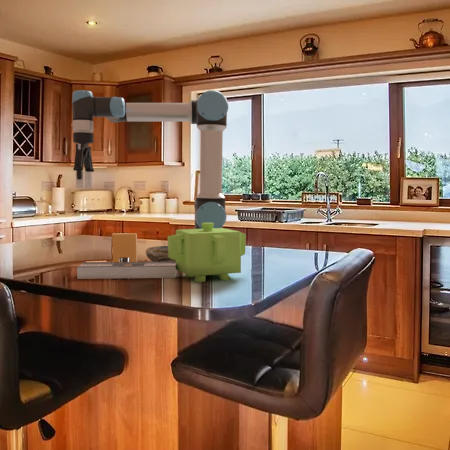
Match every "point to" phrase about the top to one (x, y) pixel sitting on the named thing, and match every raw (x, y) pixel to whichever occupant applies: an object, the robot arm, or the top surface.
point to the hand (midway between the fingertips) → (84, 188)
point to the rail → (126, 270)
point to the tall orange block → (124, 246)
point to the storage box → (207, 251)
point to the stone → (159, 254)
